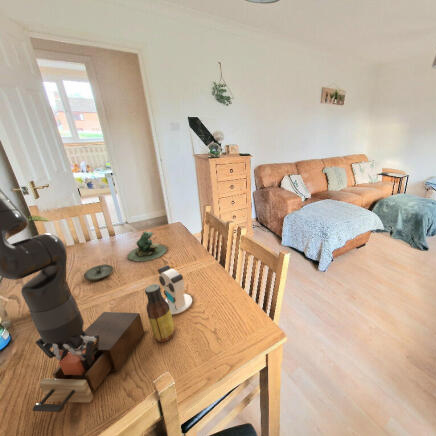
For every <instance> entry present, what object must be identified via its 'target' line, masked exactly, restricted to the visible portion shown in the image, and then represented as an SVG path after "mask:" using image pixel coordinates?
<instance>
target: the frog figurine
mask: <svg viewBox="0 0 436 436" xmlns="http://www.w3.org/2000/svg"><path fill="white" fill-rule="evenodd" d="M153 235H154V233H153V232H152V231H143V232H142V233H141V236H140V238H139V239H138V240H137V241H136V243H135V244H136V246H137V248H134V249H132V250H131V251H130V252H129V253H128V255H127V258H128V259H129V260H130V261H133V262H146V261H153V260H155V259H158V258H160V257H162V256H164V255H165V253H166V252H167V250H168V249H167V247H166V246H165V245H162V244H159V243H157V242H156V243H155V242H153V241H152V239H151V237H152V236H153Z"/></svg>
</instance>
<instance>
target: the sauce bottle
mask: <svg viewBox="0 0 436 436" xmlns="http://www.w3.org/2000/svg"><path fill="white" fill-rule="evenodd" d="M161 290H162V289H161V284H159V283H152V284H149V285H148V286H145V289H144V293H145V295H146V296H147V303H146V312H147V318H148V321H149V324H150V327H151V331H152V334H153V337H154V338H155V341H156V342H160V343H163V342H167V341H169V340H170V339H172V338H173V337H174V336H175V333H176V329H175V327H176V326H175V323H174V320H173V316H172V315H171V311H170V307H169V304H168V303H167V302H166V300H165V299H166V298H164V297H163V294H162V292H161Z"/></svg>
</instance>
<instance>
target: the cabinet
mask: <svg viewBox="0 0 436 436" xmlns="http://www.w3.org/2000/svg"><path fill="white" fill-rule="evenodd" d="M83 331H84V332H85V333H86V335H87V336H89V337H93V336H94V335H98V336H99V348H98V351H97V352H108V355H109V358H110V361H111V363H112V366H113V367H112V368H111V370H110V371H109V372H119V369H120V368H121V367H122V366H123V364H124V362H125V361H126V359H127V358H128V357H129V355H130V354H131V353H132V351H133V349H134V348H135V347H136V345H137V344H138V342H139V341H140V340H141V339H142V337H143V335H145V329H144V325H143V321H142V318H141V313H140V312H121V311H103V312H101V314H100V315H99V316H98V317H97V318H96V319H95V320H94V321H93V322H92V323H91V324H90V325H89V326H88V327H87V328H86V329H84V330H83ZM69 352H70V351H69Z"/></svg>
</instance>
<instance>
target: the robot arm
mask: <svg viewBox="0 0 436 436" xmlns="http://www.w3.org/2000/svg"><path fill="white" fill-rule="evenodd" d="M28 226H29V220H28V218H27V217H26V216H25V214H24V213H23V212H22V211H21V210H20V209H19V207H18V206H16V204H15V203H14V202H13V201H12V199H10V198H9V197H8V195H7V194H6V193H5V192H4V191H3V190H2V188H0V277H2V278H4V279H7V280H13V281H17V280H21V279H25V278H26V277H29V276H31V275H34V274H36V273H37V274H36V275H35V276H34V277H32V278H30V279H29V280H28V281H26V283H24V284H23V285H22V286H21V289H20V293H21V295H22V298H23V300H24V302H25V303H26V306H27V308H28V310H29V313H30V318H31V320H32V322H33V324H34V326H35V329H36V330H37V333H38V335H39V337H40V338H38V339H37V340H36V341H35V344H36V345H37V346H38V348H40V350H41V351H42V352H43V353H44V354H45V355H46V356H47V358H49V359H53V358H55V359H56V360H57V361H59V362H60V361H61V360H62V359H63V358H64V357H65V356H66V355H67V354H68V353H69V351H70V352H71V354H72V355H73V356H77V357H78V358H79V359H80V360H81V363H82V366H83V368H84V370H88V369H89V368H90V367H91V366H92V364H93V363H94V360H93V356H94V355H95V353H96V352H97V351H98V348H99V336H98V335H94V336H93V337H89V336H87V335H86V333H85V332H84V331H85V330H84V324H85V322H84V319H83V316H82V313H81V311H80V308H79V306H78V303H77V301H76V299H75V297H74V296H73V294H72V291H71V288H70V286H69V283H68V281H67V264H68V251H67V247H66V245H65V243H64V241H63V240H62V239H61V238H60V237H58V236H57V235H55V234H51V233H40V234H38V235H34V236H31V237H28V238H26V239H22V240H19V241H16V242H13V243H10V242H9V241H8V239H10V238H12V237H14V236H16V235H18V234H19V233H21V232H23V231H25V230H26V229H27V227H28ZM52 348H53V350H51V349H52ZM76 349H77V350H76ZM83 350H84V351H85V353H84V354H83V353H82V351H83Z"/></svg>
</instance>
